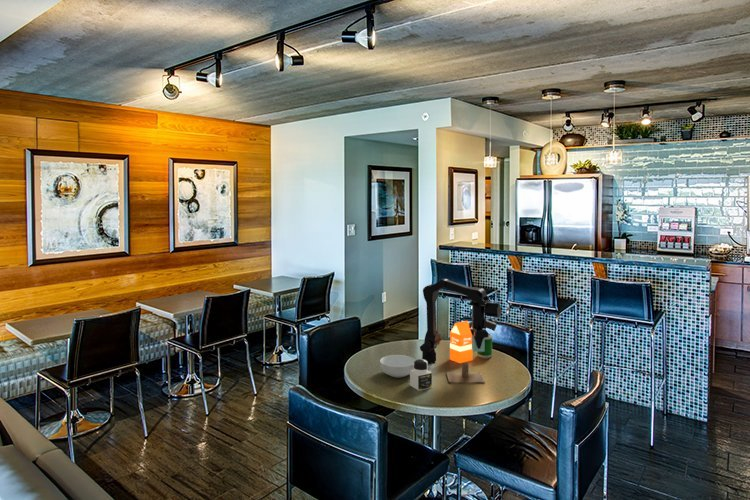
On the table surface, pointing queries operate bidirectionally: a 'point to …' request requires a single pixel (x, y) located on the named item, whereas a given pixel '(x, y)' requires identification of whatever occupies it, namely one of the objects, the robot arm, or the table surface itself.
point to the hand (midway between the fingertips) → (477, 346)
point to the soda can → (487, 348)
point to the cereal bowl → (397, 365)
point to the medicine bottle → (420, 375)
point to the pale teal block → (475, 348)
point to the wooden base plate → (465, 376)
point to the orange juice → (461, 342)
